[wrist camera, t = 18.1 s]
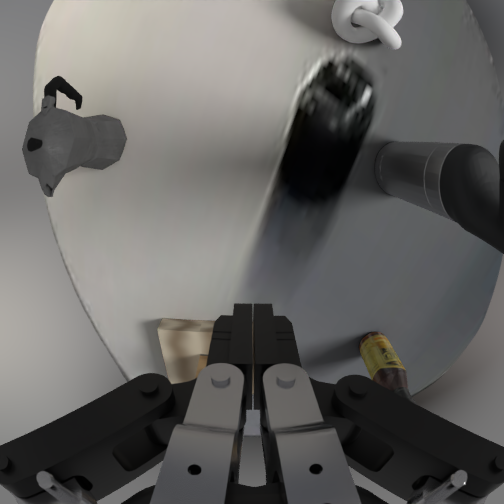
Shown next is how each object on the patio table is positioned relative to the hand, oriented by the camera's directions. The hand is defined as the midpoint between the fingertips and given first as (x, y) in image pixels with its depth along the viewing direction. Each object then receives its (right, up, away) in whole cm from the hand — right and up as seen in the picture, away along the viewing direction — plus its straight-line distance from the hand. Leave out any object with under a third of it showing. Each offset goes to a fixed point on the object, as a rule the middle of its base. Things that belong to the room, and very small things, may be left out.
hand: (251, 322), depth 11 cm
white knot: (+18, +39, +20) cm, 48 cm away
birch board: (-7, -17, +40) cm, 44 cm away
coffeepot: (-24, +22, +26) cm, 42 cm away
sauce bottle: (+24, -15, +40) cm, 49 cm away
